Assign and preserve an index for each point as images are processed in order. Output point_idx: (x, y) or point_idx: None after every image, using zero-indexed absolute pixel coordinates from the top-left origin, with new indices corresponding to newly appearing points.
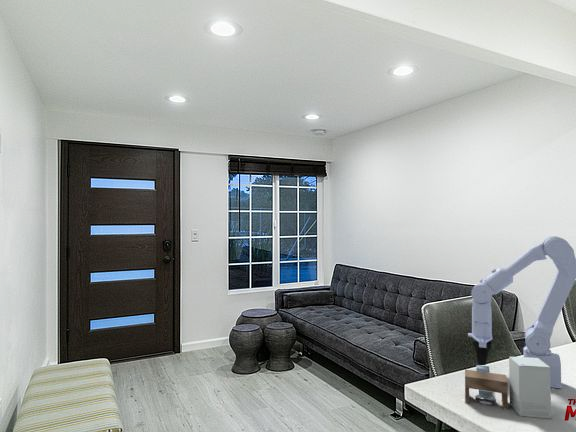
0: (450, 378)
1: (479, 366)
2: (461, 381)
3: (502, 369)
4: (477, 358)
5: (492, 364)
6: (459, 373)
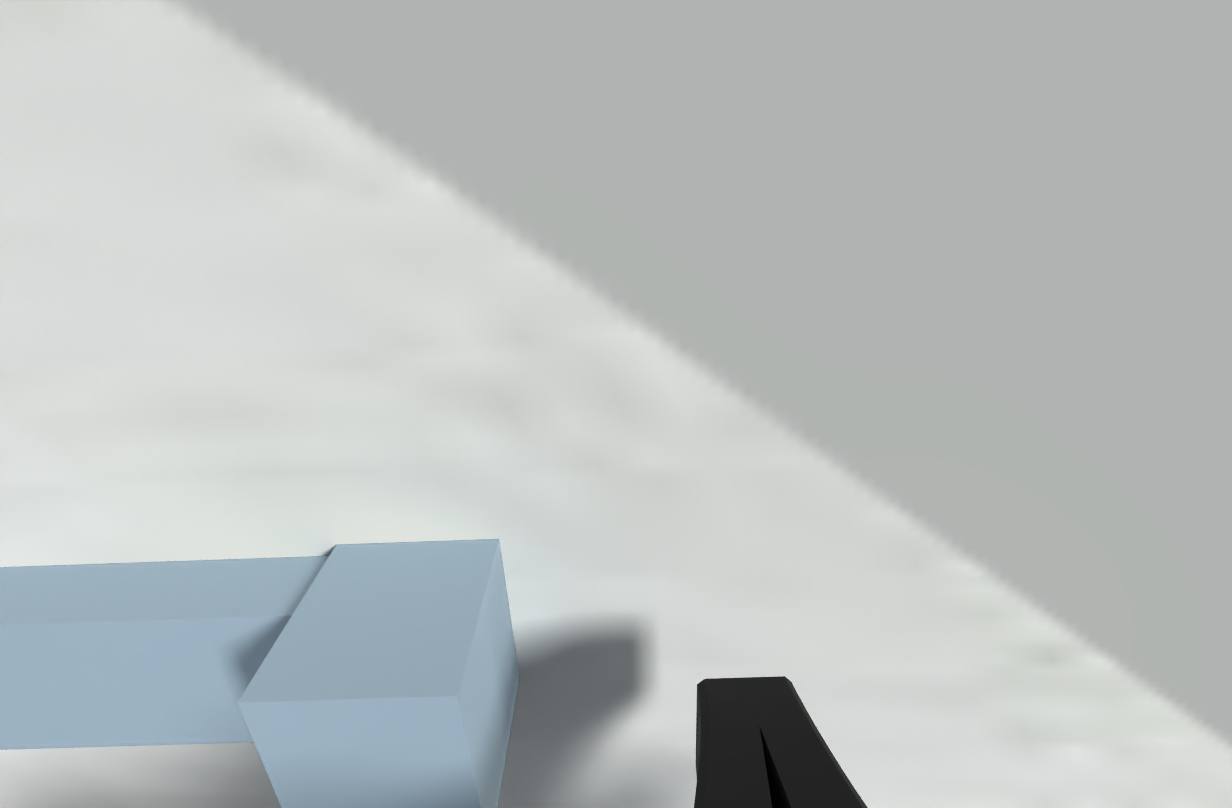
0: (27, 107)
1: (383, 740)
2: (39, 330)
3: (944, 801)
4: (696, 787)
5: (1148, 715)
6: (463, 272)
